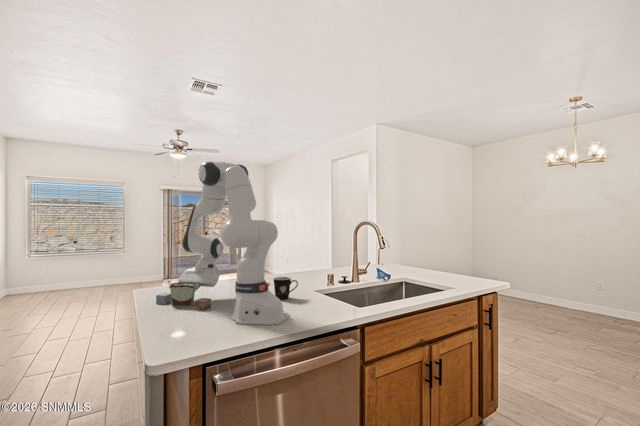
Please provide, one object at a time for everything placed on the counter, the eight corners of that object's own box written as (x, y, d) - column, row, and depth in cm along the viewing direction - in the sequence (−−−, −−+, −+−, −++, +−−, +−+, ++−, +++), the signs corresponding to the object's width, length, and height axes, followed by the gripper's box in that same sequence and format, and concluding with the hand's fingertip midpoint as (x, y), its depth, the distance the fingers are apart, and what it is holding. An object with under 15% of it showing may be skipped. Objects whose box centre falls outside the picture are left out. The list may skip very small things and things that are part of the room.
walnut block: (211, 307, 136) (211, 298, 136) (203, 310, 132) (203, 301, 132) (202, 306, 138) (202, 297, 138) (194, 309, 133) (194, 300, 133)
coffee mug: (270, 300, 148) (271, 279, 148) (276, 296, 157) (276, 276, 157) (294, 301, 146) (294, 280, 146) (298, 297, 155) (298, 277, 155)
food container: (201, 303, 144) (201, 281, 144) (194, 306, 137) (194, 284, 138) (176, 302, 145) (176, 281, 145) (168, 305, 139) (169, 283, 139)
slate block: (172, 301, 146) (172, 293, 146) (164, 304, 142) (164, 295, 142) (164, 301, 148) (164, 292, 148) (156, 303, 143) (156, 295, 143)
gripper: (184, 264, 155) (169, 287, 145) (218, 265, 149) (205, 290, 139) (190, 271, 159) (176, 294, 149) (224, 273, 153) (211, 297, 143)
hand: (190, 292), depth 144 cm, fingers closed
